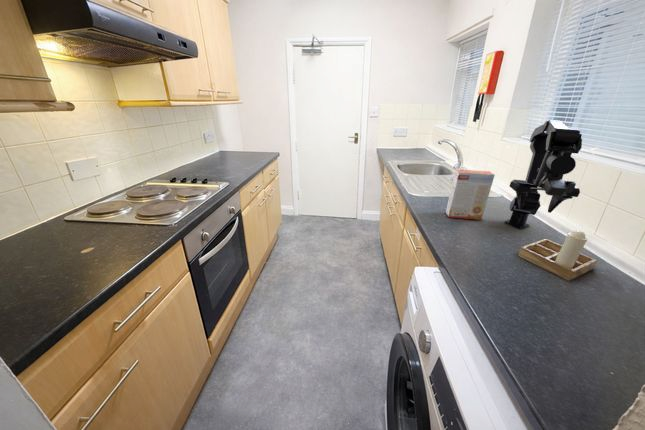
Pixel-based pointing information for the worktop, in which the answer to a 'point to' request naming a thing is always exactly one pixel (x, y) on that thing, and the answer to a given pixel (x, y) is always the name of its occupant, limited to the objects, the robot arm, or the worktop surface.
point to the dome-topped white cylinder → (571, 249)
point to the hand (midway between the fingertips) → (534, 210)
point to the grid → (546, 255)
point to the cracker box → (469, 194)
